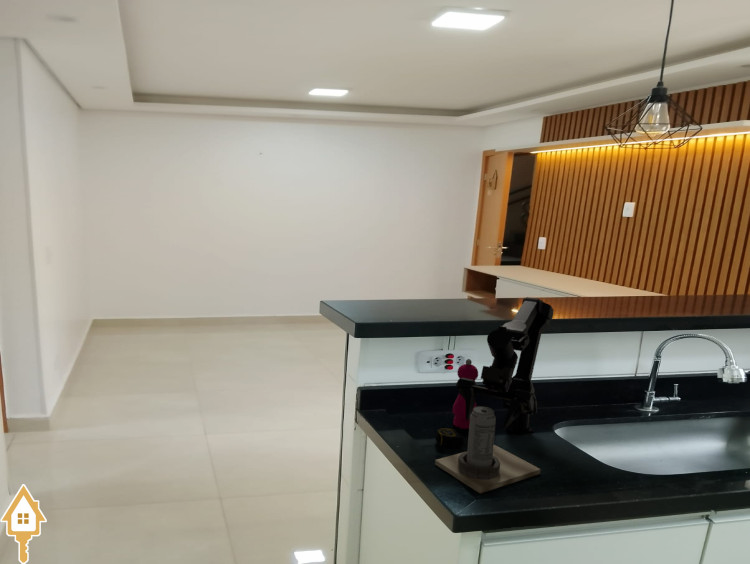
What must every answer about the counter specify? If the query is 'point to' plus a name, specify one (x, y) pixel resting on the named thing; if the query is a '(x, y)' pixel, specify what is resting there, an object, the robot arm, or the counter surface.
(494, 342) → the robot arm
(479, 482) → the collar board
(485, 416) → the energy drink can
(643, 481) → the counter surface
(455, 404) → the pepper mill
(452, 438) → the tape measure
